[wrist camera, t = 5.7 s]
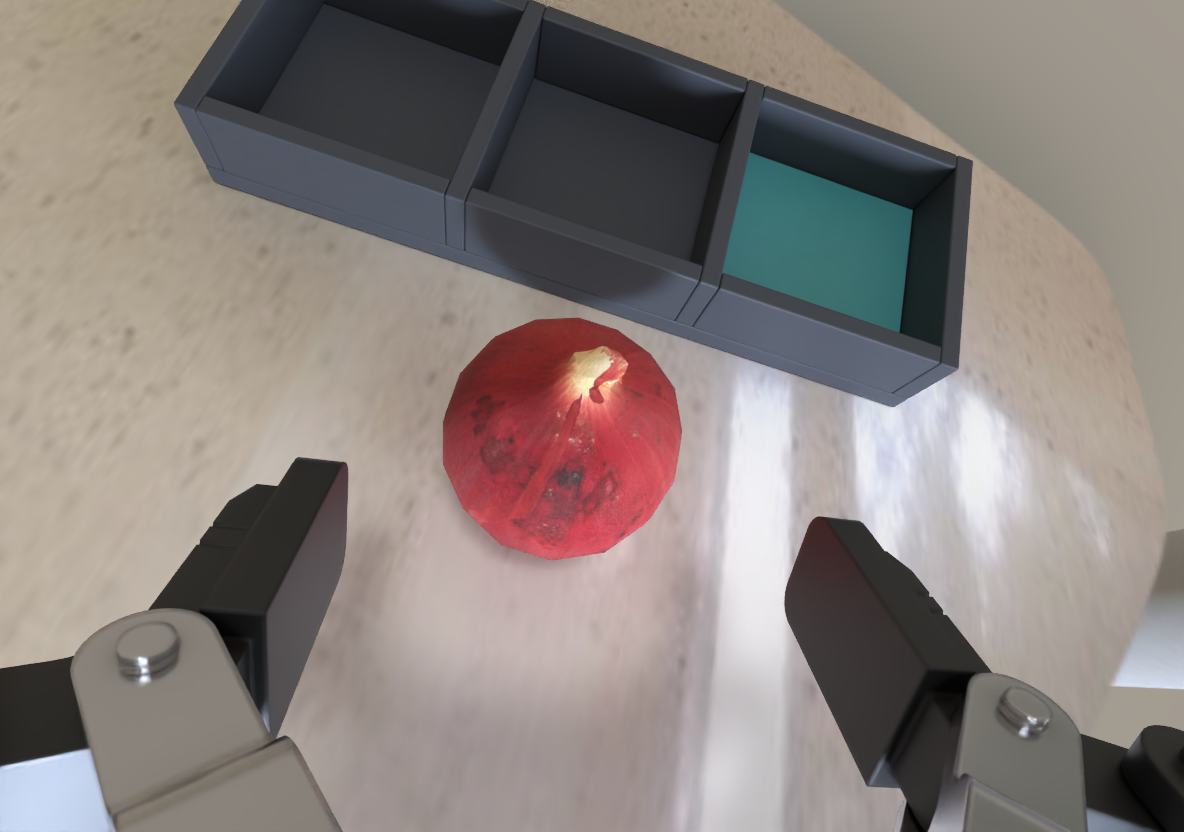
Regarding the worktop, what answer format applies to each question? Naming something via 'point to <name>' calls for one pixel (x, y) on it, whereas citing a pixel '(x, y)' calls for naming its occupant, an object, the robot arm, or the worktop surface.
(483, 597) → the worktop surface
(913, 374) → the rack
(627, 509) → the onion
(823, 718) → the worktop surface
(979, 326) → the worktop surface
